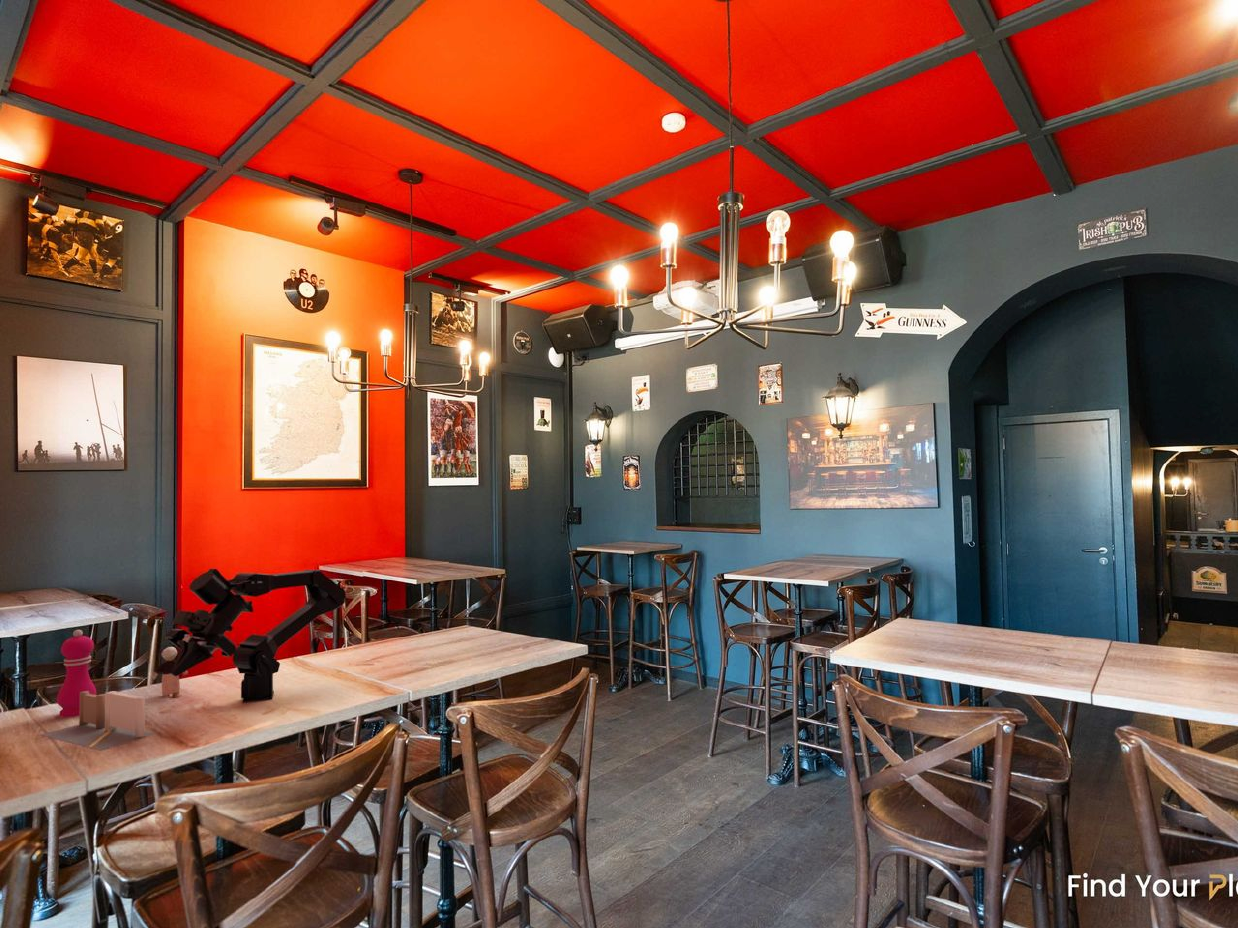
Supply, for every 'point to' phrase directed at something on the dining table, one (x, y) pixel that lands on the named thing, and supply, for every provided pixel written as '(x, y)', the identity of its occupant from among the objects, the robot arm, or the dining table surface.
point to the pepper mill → (75, 673)
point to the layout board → (93, 726)
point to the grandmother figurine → (168, 674)
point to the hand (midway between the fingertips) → (173, 674)
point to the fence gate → (125, 712)
